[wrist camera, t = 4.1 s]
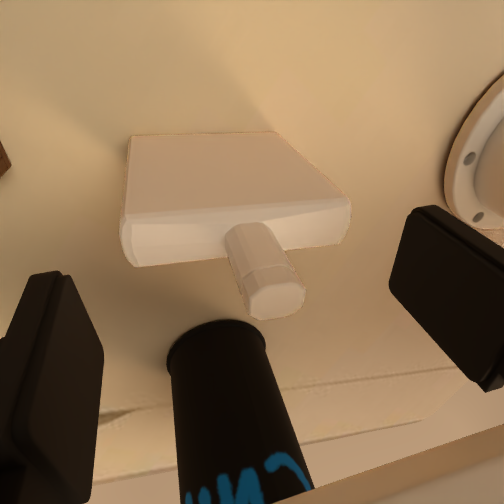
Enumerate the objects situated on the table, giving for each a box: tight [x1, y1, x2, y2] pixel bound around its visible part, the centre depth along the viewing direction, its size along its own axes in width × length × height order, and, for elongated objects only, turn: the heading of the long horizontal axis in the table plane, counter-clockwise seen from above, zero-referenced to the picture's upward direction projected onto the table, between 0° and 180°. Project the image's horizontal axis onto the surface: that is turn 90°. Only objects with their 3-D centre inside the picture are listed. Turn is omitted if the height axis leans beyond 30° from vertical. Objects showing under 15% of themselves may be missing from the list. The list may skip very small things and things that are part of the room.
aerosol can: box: [166, 320, 315, 504], centre depth 20 cm, size 8×8×20 cm
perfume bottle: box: [119, 132, 351, 320], centre depth 13 cm, size 8×2×12 cm, turn 87°
